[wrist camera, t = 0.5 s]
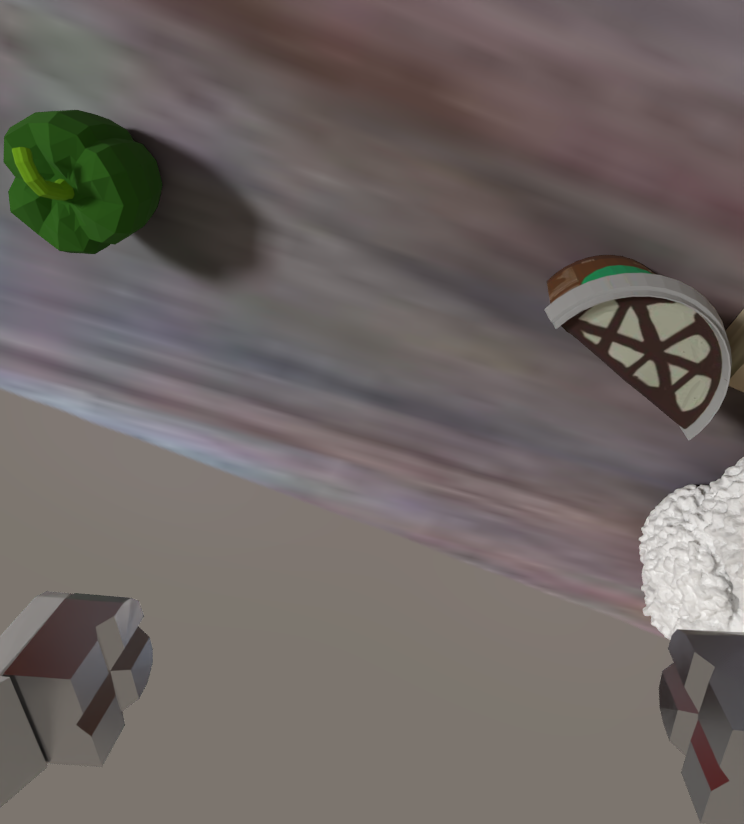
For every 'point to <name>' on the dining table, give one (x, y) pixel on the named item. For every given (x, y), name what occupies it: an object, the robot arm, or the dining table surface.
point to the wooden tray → (737, 352)
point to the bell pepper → (80, 179)
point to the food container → (647, 334)
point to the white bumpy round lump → (696, 557)
